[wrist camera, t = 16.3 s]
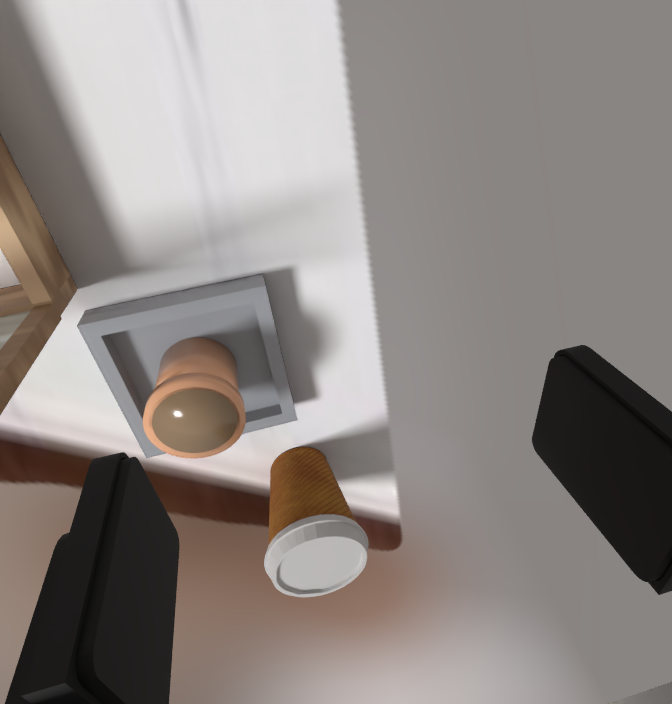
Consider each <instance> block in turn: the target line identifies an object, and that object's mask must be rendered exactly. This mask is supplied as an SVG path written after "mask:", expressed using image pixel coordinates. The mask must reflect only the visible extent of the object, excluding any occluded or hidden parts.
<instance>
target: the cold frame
mask: <svg viewBox="0 0 672 704" xmlns="http://www.w3.org/2000/svg"><path fill="white" fill-rule="evenodd" d="M0 249H1V250H2V252H3V254H4V255H5V257H6V259H7V261H8V262H9V264H10V266H11V268H12V269H13V271H14V273H15V275H16V276H17V278H18V280H19V282H20V283H21V285H17V286H12V287H6V288H1V289H0V415H1V413H2V412H3V410H4V408H5V407H6V405H7V404H8V402H9V401H10V399H11V397H12V396H13V394H14V393H15V391H16V390H17V388H18V386H19V385H20V383H21V382H22V380H23V379H24V377H25V375H26V374H27V372H28V371H29V369H30V368H31V366H32V364H33V363H34V361H35V360H36V358H37V357H38V355H39V353H40V352H41V350H42V349H43V347H44V346H45V344H46V342H47V341H48V339H49V338H50V336H51V335H52V333H53V331H54V330H55V328H56V327H57V325H58V324H59V322H60V321H61V317H60V316H61V314H62V313H63V311H64V310H65V308H66V307H67V305H68V303H69V302H70V300H71V299H72V297H73V296H74V294H75V293H76V291H77V290H78V289H77V287H76V285H75V283H74V281H73V279H72V277H71V275H70V273H69V271H68V269H67V267H66V265H65V263H64V261H63V259H62V257H61V255H60V253H59V251H58V249H57V247H56V245H55V243H54V241H53V239H52V237H51V235H50V233H49V231H48V229H47V227H46V225H45V223H44V221H43V219H42V217H41V215H40V213H39V211H38V209H37V207H36V205H35V203H34V201H33V199H32V197H31V195H30V193H29V191H28V189H27V187H26V185H25V183H24V181H23V179H22V177H21V175H20V173H19V171H18V169H17V167H16V165H15V163H14V161H13V159H12V157H11V155H10V153H9V151H8V149H7V147H6V145H5V143H4V141H3V139H2V137H1V135H0Z"/></svg>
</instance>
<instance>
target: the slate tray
mask: <svg viewBox="0 0 672 704" xmlns="http://www.w3.org/2000/svg"><path fill="white" fill-rule="evenodd" d="M77 327H78V329H79V331H80V333H81V334H82V336H83V338H84V340H85V342H86V344H87V346H88V348H89V350H90V352H91V354H92V355H93V357H94V359H95V361H96V363H97V365H98V367H99V369H100V371H101V373H102V374H103V376H104V378H105V380H106V382H107V384H108V386H109V388H110V390H111V392H112V393H113V395H114V397H115V399H116V401H117V403H118V405H119V407H120V409H121V411H122V412H123V414H124V416H125V418H126V420H127V422H128V424H129V426H130V428H131V430H132V432H133V433H134V435H135V437H136V439H137V441H138V443H139V445H140V447H141V449H142V451H143V452H144V454H145V456H146V458H149V457H153V456H157V455H161V454H165V453H166V452H164V451H162V450H160V449H159V448H157V447H156V446H155V445H154V444H153V443H152V442H151V441H150V440H149V439H148V437H147V435H146V433H145V431H144V427H143V415H144V410H145V406H146V402H147V399H148V397H149V395H150V394H151V392H152V391H153V390H154V389H155V386H156V381H157V376H158V371H159V366H160V361H161V358H162V356H163V354H164V353H165V352H166V350H167V349H168V348H169V347H171V346H172V345H173V344H175V343H177V342H179V341H181V340H184V339H187V338H194V337H202V338H209V339H212V340H215V341H217V342H219V343H221V344H223V345H224V346H226V347H227V348H228V349H229V350H230V351H231V353H232V354H233V356H234V357H235V360H236V363H237V375H238V391H239V392H240V394H241V396H242V398H243V400H244V404H245V415H246V423H245V427H244V430H243V433H242V434H244V433H248V432H252V431H256V430H260V429H264V428H268V427H272V426H276V425H280V424H284V423H288V422H292V421H296V420H297V417H296V413H295V408H294V404H293V400H292V396H291V391H290V387H289V383H288V379H287V374H286V370H285V366H284V362H283V358H282V353H281V349H280V345H279V341H278V336H277V332H276V328H275V324H274V319H273V315H272V311H271V307H270V302H269V298H268V294H267V290H266V286H265V281H264V277H263V274H259V275H254V276H249V277H244V278H240V279H235V280H230V281H225V282H221V283H216V284H211V285H206V286H201V287H197V288H192V289H187V290H182V291H178V292H173V293H168V294H163V295H158V296H154V297H149V298H144V299H139V300H135V301H130V302H125V303H120V304H116V305H111V306H106V307H101V308H96V309H92V310H87V311H85V312H84V314H83V316H82V318H81V320H80V321H79V323H78V325H77Z"/></svg>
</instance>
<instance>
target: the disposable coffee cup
mask: <svg viewBox="0 0 672 704" xmlns="http://www.w3.org/2000/svg"><path fill="white" fill-rule="evenodd" d="M367 549H368V538H367V535H366V533H365V532H364V530H363V529H362V528H361V527H360V526H359V525H358V524H357V523H356V521H355V519H354V517H353V515H352V513H351V511H350V508H349V506H348V505H347V502H346V500H345V498H344V496H343V494H342V492H341V489H340V487H339V485H338V483H337V481H336V479H335V477H334V475H333V473H332V470H331V468H330V466H329V464H328V462H327V460H326V457H325V456H324V454H323V453H321V452H320V451H319V450H317V449H314V448H309V447H298V448H294V449H291V450H288V451H286V452H284V453H282V454H281V455H280V456H278V457H277V458H276V460H275V461H274V462H273V464H272V467H271V479H270V518H269V547H268V549H267V553H266V555H265V560H264V566H265V570H266V573H267V574H268V575H269V577H270V578H271V579H272V582H273V584H274V586H275V587H276V588H277V589H278V590H279V591H280V592H282V593H284V594H287V595H291V596H296V597H314V596H320V595H324V594H327V593H330V592H333V591H335V590H338V589H340V588H342V587H344V586H345V585H347V584H348V583H350V582H351V581H353V580H354V579H355V578H356V577H357V576H358V575H359V574H360V573H361V572H362V570H363V569H364V567H365V565H366V562H367Z"/></svg>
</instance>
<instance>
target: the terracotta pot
mask: <svg viewBox="0 0 672 704" xmlns="http://www.w3.org/2000/svg"><path fill="white" fill-rule="evenodd" d="M245 423H246V415H245V404H244V400H243V398H242V396H241V394H240V392H239V391H238V375H237V363H236V360H235V357H234V356H233V354H232V353H231V351H230V350H229V349H228V348H227V347H226V346H224V345H223V344H221V343H219V342H217V341H215V340H212V339H209V338H202V337H194V338H187V339H184V340H181V341H179V342H177V343H175V344H173V345H172V346H171V347H169V348H168V349H167V350H166V352H165V353H164V354H163V356H162V358H161V361H160V366H159V371H158V376H157V381H156V386H155V389H154V390H153V391H152V392H151V394H150V395H149V397H148V399H147V402H146V406H145V410H144V415H143V427H144V431H145V433H146V435H147V437H148V439H149V440H150V441H151V442H152V443H153V444H154V445H155V446H156V447H157V448H159V449H160V450H162V451H164V452H166V453H168V454H171V455H174V456H177V457H183V458H204V457H209V456H212V455H216V454H218V453H220V452H222V451H224V450H226V449H228V448H229V447H231V446H232V445H233V444H234V443H235V442H236V441H237V440H238V439H239V438H240V436H241V435H242V433H243V430H244V427H245Z"/></svg>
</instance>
